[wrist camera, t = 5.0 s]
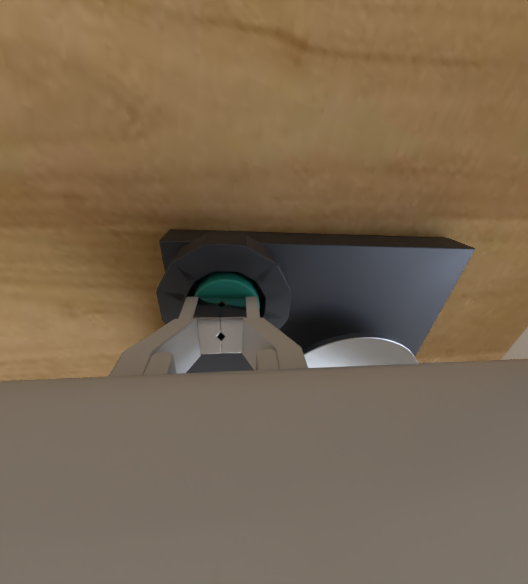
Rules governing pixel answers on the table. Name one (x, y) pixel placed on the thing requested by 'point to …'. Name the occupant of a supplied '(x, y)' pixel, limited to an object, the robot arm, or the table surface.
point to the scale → (318, 282)
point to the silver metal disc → (357, 351)
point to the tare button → (226, 285)
